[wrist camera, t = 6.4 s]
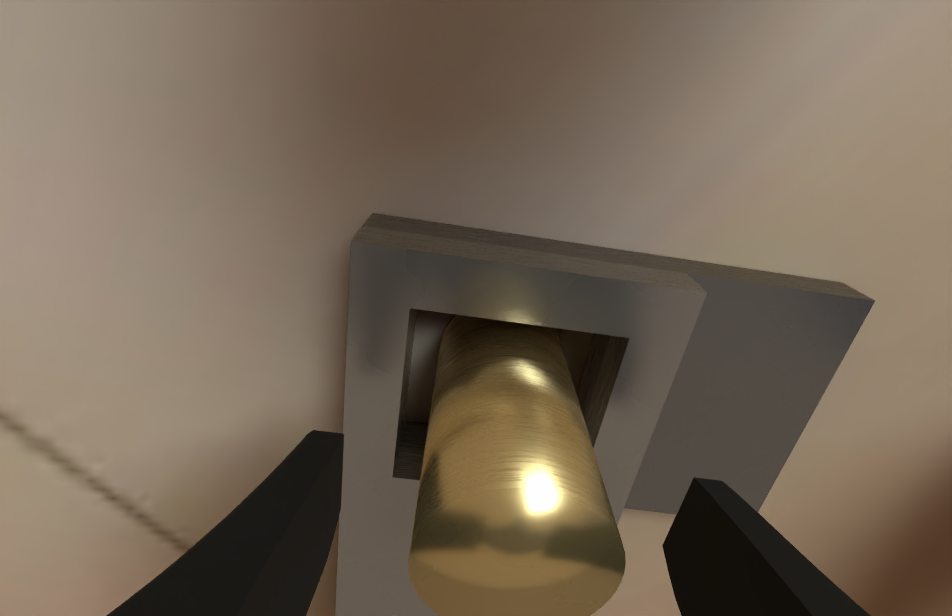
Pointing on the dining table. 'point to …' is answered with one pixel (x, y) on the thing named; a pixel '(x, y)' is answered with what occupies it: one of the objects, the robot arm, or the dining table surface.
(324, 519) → the robot arm
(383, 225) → the lower link
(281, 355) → the dining table surface
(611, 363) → the upper link
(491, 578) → the pin
